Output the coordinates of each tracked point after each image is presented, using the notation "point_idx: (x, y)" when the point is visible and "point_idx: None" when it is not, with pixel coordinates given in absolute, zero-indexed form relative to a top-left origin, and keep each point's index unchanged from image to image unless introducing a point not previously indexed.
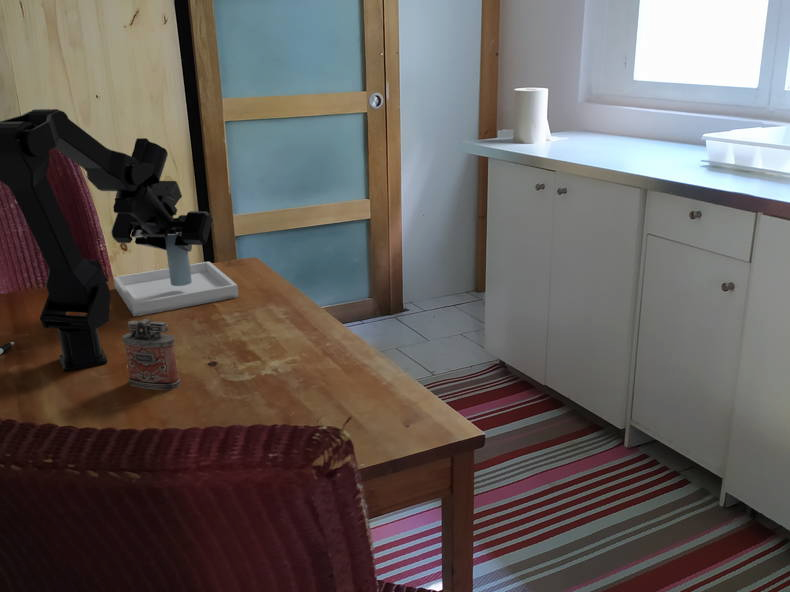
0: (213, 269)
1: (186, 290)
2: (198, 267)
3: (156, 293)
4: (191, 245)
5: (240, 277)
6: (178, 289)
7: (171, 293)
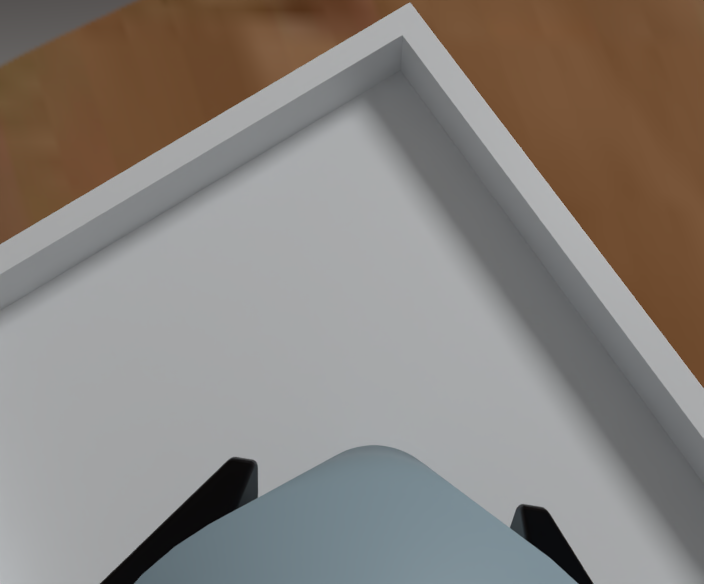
0: (502, 173)
1: None
2: (350, 78)
3: None
4: (567, 554)
5: (645, 150)
6: None
7: None
